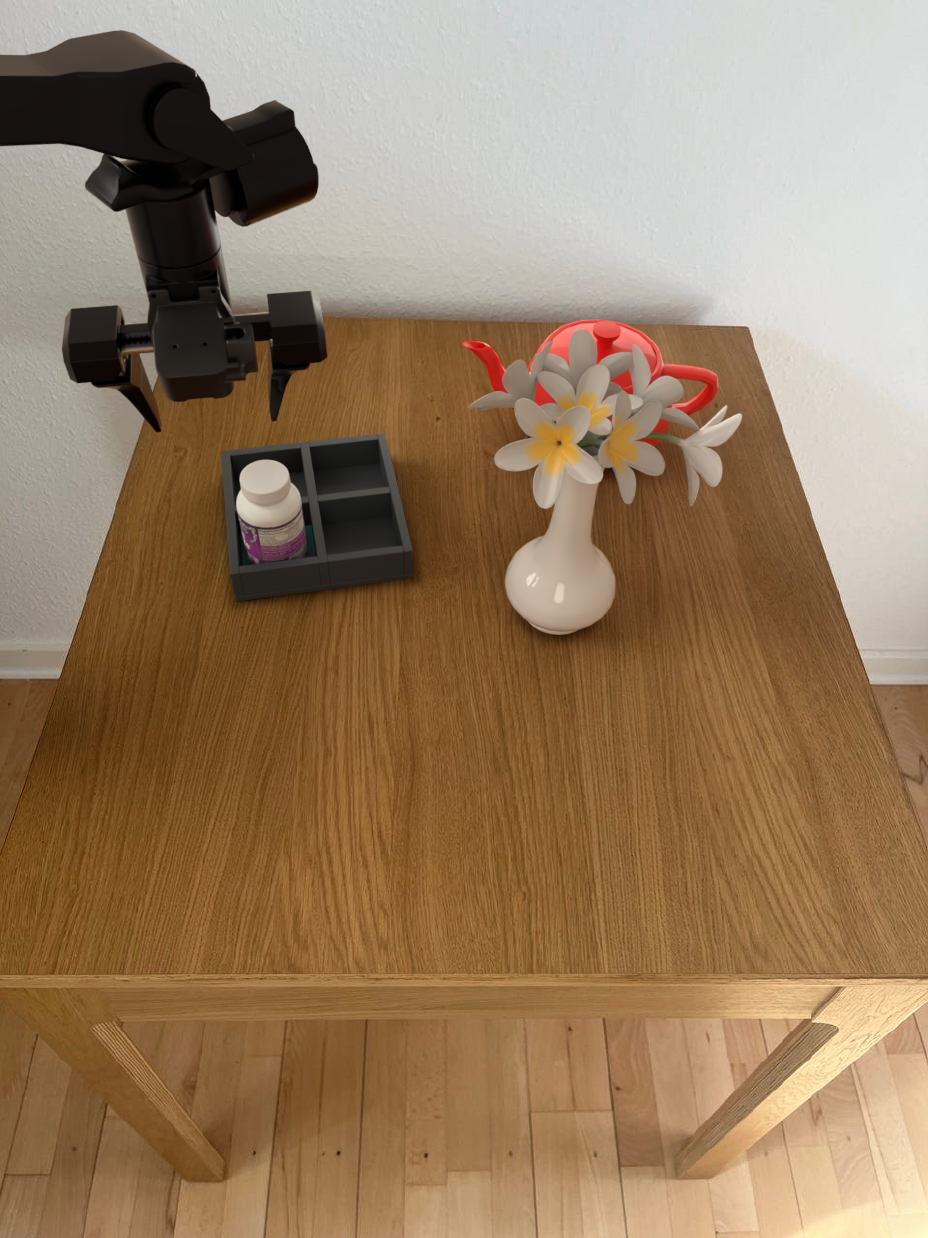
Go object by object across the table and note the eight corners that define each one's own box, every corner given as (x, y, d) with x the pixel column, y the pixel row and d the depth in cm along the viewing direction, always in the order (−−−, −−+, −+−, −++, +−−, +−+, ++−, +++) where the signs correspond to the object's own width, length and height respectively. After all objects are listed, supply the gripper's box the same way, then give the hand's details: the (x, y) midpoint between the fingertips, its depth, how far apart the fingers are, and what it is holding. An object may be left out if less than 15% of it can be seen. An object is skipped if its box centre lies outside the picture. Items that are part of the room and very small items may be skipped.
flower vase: (678, 667, 78) (766, 435, 59) (457, 663, 78) (470, 427, 58) (658, 552, 86) (728, 313, 67) (457, 547, 86) (468, 305, 66)
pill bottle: (241, 541, 84) (223, 460, 77) (299, 528, 85) (288, 446, 78) (255, 585, 81) (238, 505, 73) (315, 570, 82) (304, 490, 75)
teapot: (696, 391, 101) (725, 290, 91) (709, 492, 91) (742, 391, 82) (464, 373, 101) (469, 271, 92) (452, 472, 92) (456, 369, 82)
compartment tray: (236, 601, 81) (229, 574, 78) (227, 479, 90) (220, 450, 87) (413, 578, 83) (413, 550, 80) (386, 461, 92) (385, 432, 90)
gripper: (25, 325, 59) (94, 505, 71) (326, 302, 61) (341, 478, 74) (40, 231, 65) (100, 410, 78) (310, 214, 68) (327, 389, 80)
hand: (216, 423), depth 77 cm, fingers open, 9 cm apart
